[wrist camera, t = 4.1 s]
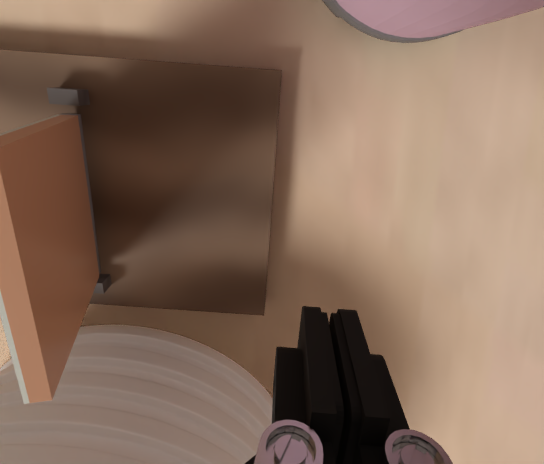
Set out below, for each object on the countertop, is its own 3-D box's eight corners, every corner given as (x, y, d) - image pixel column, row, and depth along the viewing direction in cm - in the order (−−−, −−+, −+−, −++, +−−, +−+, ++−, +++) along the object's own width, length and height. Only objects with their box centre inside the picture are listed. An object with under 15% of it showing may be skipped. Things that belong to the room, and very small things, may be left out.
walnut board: (-117, 41, 21) (-171, 36, 18) (281, 71, 21) (281, 69, 18) (-42, 282, 27) (-75, 302, 24) (264, 303, 27) (263, 325, 25)
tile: (82, 113, 20) (63, 112, 20) (-5, 149, 11) (-46, 148, 10) (102, 268, 24) (86, 268, 24) (52, 400, 14) (24, 403, 14)
